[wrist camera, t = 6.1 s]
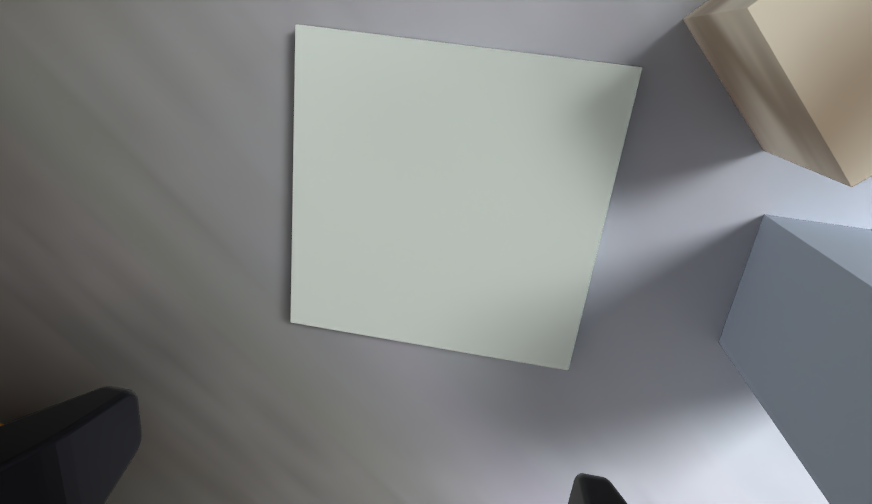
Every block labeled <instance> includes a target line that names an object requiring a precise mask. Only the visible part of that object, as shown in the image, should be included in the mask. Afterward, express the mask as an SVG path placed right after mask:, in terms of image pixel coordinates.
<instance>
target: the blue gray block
mask: <svg viewBox="0 0 872 504" xmlns="http://www.w3.org/2000/svg"><path fill="white" fill-rule="evenodd" d="M719 344H720V345H721V347H722V348H723V350H724V351H725V353H726V354H727V355H728V357H729V358H730V360H731V361H732V363H733V364H734V366H735V367H736V369H737V370H738V371H739V373H740V374H741V376H742V377H743V379H744V380H745V382H746V383H747V385H748V386H749V387H750V389H751V390H752V392H753V393H754V395H755V396H756V398H757V399H758V400H759V402H760V403H761V405H762V406H763V408H764V409H765V411H766V412H767V414H768V415H769V416H770V418H771V419H772V421H773V422H774V424H775V425H776V427H777V428H778V430H779V431H780V432H781V434H782V435H783V437H784V438H785V440H786V441H787V443H788V444H789V445H790V447H791V448H792V450H793V451H794V453H795V454H796V456H797V457H798V459H799V460H800V461H801V463H802V464H803V466H804V467H805V469H806V470H807V472H808V473H809V475H810V476H811V477H812V479H813V480H814V482H815V483H816V485H817V486H818V488H819V489H820V490H821V492H822V493H823V495H824V496H825V498H826V499H827V501H828V502H829V504H872V230H869V229H862V228H855V227H848V226H841V225H834V224H827V223H820V222H813V221H806V220H799V219H792V218H785V217H778V216H771V215H764V216H763V219H762V222H761V225H760V227H759V230H758V233H757V236H756V239H755V242H754V244H753V247H752V250H751V253H750V256H749V258H748V261H747V264H746V267H745V270H744V272H743V275H742V278H741V281H740V284H739V287H738V289H737V292H736V295H735V298H734V301H733V303H732V306H731V309H730V312H729V315H728V317H727V320H726V323H725V326H724V329H723V332H722V334H721V337H720V340H719Z"/></svg>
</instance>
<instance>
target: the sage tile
mask: <svg viewBox="0 0 872 504" xmlns="http://www.w3.org/2000/svg"><path fill="white" fill-rule="evenodd" d="M641 71H642V67H636V66H628V65H620V64H612V63H604V62H596V61H588V60H580V59H572V58H564V57H556V56H548V55H540V54H532V53H524V52H516V51H508V50H500V49H492V48H484V47H476V46H468V45H460V44H452V43H444V42H435V41H427V40H419V39H411V38H403V37H395V36H387V35H379V34H371V33H363V32H355V31H347V30H339V29H331V28H323V27H315V26H307V25H298V24H295V86H294V147H293V208H292V270H291V323H297V324H303V325H308V326H314V327H320V328H326V329H331V330H337V331H343V332H349V333H354V334H360V335H366V336H372V337H377V338H383V339H389V340H395V341H400V342H406V343H412V344H418V345H423V346H429V347H435V348H441V349H446V350H452V351H458V352H464V353H469V354H475V355H481V356H487V357H492V358H498V359H504V360H510V361H515V362H521V363H527V364H533V365H538V366H544V367H550V368H556V369H562V370H567V371H568V370H569V366H570V362H571V358H572V354H573V350H574V346H575V342H576V337H577V333H578V329H579V325H580V321H581V317H582V313H583V309H584V305H585V301H586V297H587V292H588V288H589V284H590V280H591V276H592V272H593V268H594V264H595V260H596V256H597V251H598V247H599V243H600V239H601V235H602V231H603V227H604V223H605V219H606V215H607V211H608V206H609V202H610V198H611V194H612V190H613V186H614V182H615V178H616V174H617V170H618V165H619V161H620V157H621V153H622V149H623V145H624V141H625V137H626V133H627V129H628V125H629V120H630V116H631V112H632V108H633V104H634V100H635V96H636V92H637V88H638V84H639V79H640V75H641Z"/></svg>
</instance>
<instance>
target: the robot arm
mask: <svg viewBox="0 0 872 504" xmlns="http://www.w3.org/2000/svg"><path fill="white" fill-rule="evenodd" d="M140 442H141V424H140V415H139V406H138V398H137V395H136V394H135V392H133V391H131V390H128V389H123V388H118V387H112V386H106V387H102V388H99V389H97V390H94V391H91V392H89V393H86V394H83V395H81V396H78V397H76V398H73V399H70V400H68V401H65V402H62V403H60V404H57V405H54V406H52V407H49V408H46V409H44V410H41V411H38V412H36V413H33V414H30V415H28V416H25V417H22V418H20V419H17V420H14V421H12V422H9V423H7V424H4V425H1V426H0V504H104V503H105V501H106V500H107V498H108V496H109V495H110V493H111V492H112V490H113V488H114V487H115V485H116V484H117V482H118V480H119V479H120V477H121V476H122V474H123V473H124V471H125V469H126V468H127V466H128V465H129V463H130V461H131V460H132V458H133V457H134V455H135V453H136V452H137V450H138V447H139V445H140ZM568 504H627V503H626V501H625V500H624V499H623V497H622V496H621V495H620V493H619V492H618V491H617V490H616V488H615V487H614V486H613V484H612V483H611V482H610V481H609V480H608V479H606V478H604V477H600V476H594V475H589V474H584V473H580V474H578V475H577V476H576V478H575V480H574V483H573V487H572V490H571V494H570V498H569V502H568Z"/></svg>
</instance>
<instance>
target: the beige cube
mask: <svg viewBox="0 0 872 504" xmlns="http://www.w3.org/2000/svg"><path fill="white" fill-rule="evenodd" d="M683 20H684V22H685V24H686V25H687V27H688V29H689V30H690V32H691V33H692V35H693V37H694V38H695V40H696V42H697V43H698V45H699V46H700V48H701V50H702V51H703V53H704V55H705V56H706V58H707V59H708V61H709V63H710V64H711V66H712V68H713V69H714V71H715V72H716V74H717V76H718V77H719V79H720V81H721V82H722V84H723V85H724V87H725V89H726V90H727V92H728V94H729V95H730V97H731V98H732V100H733V102H734V103H735V105H736V107H737V108H738V110H739V111H740V113H741V115H742V116H743V118H744V120H745V121H746V123H747V124H748V126H749V128H750V129H751V131H752V133H753V134H754V136H755V137H756V139H757V141H758V142H759V144H760V146H761V147H762V149H763V150H764V151H766V152H768V153H771V154H773V155H776V156H778V157H780V158H783V159H785V160H788V161H790V162H793V163H795V164H797V165H800V166H802V167H805V168H807V169H809V170H812V171H814V172H817V173H819V174H821V175H824V176H826V177H829V178H831V179H833V180H836V181H838V182H841V183H843V184H846V185H848V186H850V187H853V186H855V185H857V184H859V183H860V182H862V181H864V180H866V179H867V178H869V177H871V176H872V0H708V1H706V2H705V3H704V4H702V5H701V6H699V7H698V8H697V9H695V10H694V11H693V12H691V13H690V14H689V15H687V16H686V17H685V18H683Z"/></svg>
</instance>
